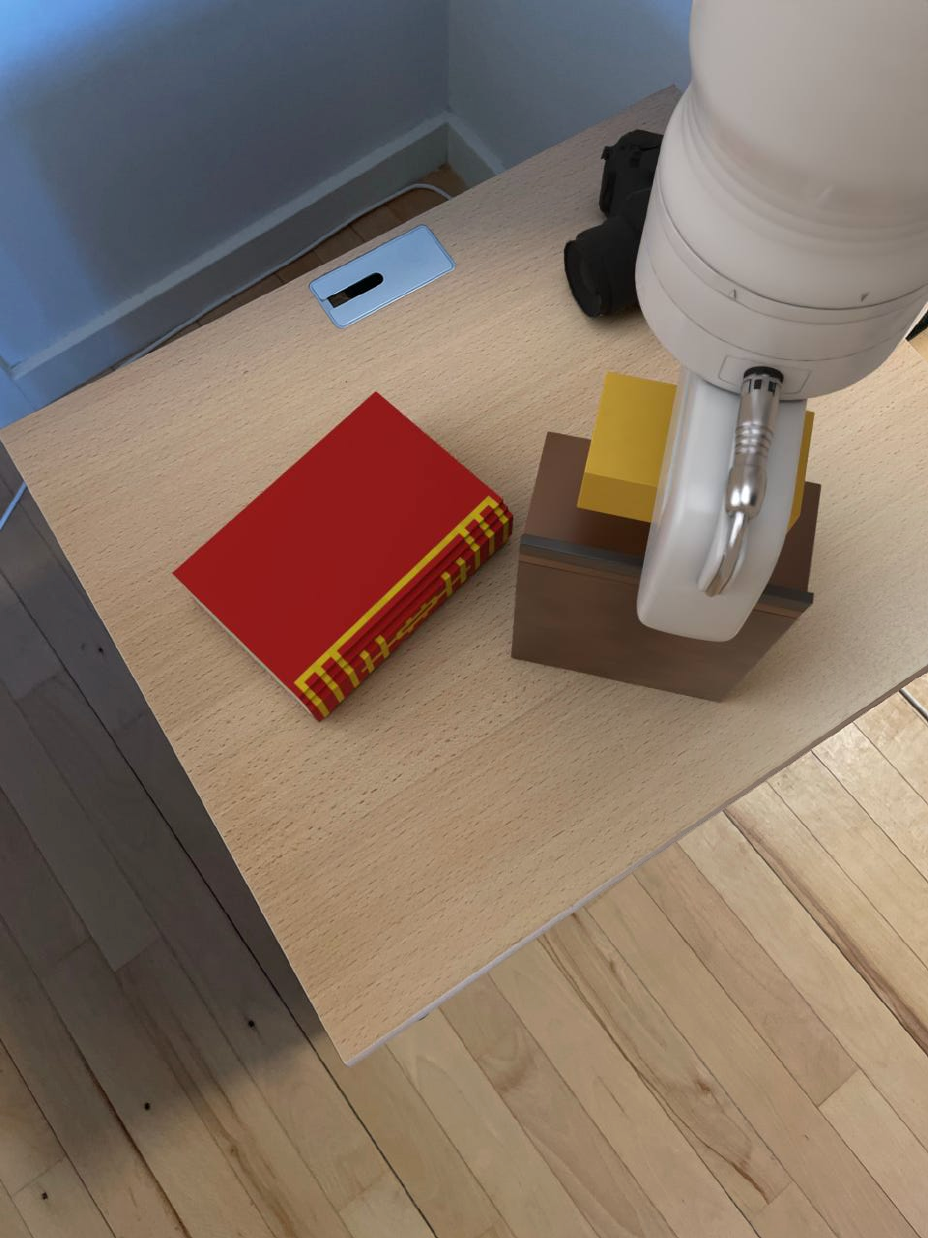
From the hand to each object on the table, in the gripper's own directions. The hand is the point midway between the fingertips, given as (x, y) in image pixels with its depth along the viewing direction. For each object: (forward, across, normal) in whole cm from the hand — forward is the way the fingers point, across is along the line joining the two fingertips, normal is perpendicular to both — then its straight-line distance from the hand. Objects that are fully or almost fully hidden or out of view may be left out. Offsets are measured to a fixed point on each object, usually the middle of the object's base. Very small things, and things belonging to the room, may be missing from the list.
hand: (695, 461), depth 43 cm
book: (+24, 0, +19) cm, 31 cm away
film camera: (+24, +28, +4) cm, 37 cm away
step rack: (+24, +3, 0) cm, 24 cm away
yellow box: (+2, 0, 0) cm, 2 cm away
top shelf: (+7, 0, 0) cm, 7 cm away
